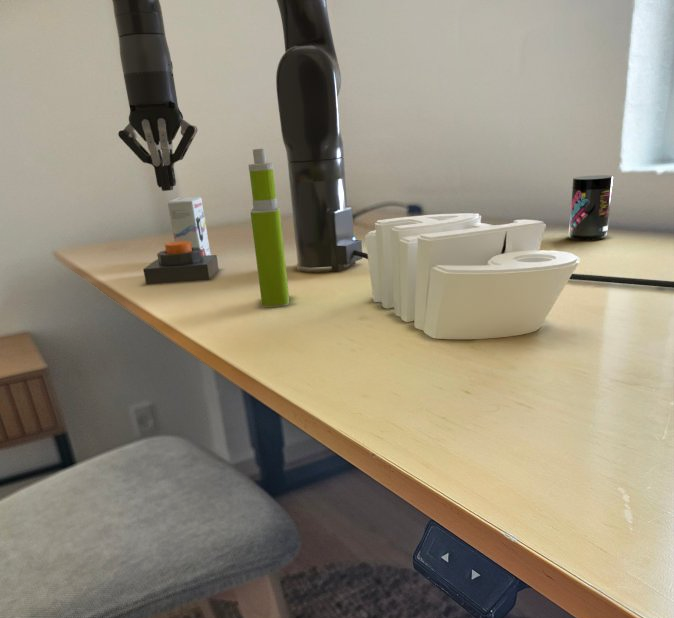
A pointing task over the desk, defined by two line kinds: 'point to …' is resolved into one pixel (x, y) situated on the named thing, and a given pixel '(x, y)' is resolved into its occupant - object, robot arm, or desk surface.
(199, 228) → the ink box
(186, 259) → the push button base
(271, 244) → the vape
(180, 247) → the power button
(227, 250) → the desk surface
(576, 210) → the supplement container
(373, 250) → the white wavy slab sculpture
